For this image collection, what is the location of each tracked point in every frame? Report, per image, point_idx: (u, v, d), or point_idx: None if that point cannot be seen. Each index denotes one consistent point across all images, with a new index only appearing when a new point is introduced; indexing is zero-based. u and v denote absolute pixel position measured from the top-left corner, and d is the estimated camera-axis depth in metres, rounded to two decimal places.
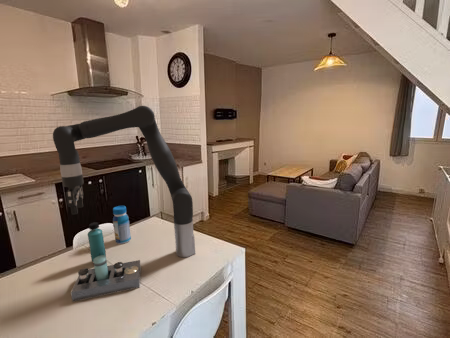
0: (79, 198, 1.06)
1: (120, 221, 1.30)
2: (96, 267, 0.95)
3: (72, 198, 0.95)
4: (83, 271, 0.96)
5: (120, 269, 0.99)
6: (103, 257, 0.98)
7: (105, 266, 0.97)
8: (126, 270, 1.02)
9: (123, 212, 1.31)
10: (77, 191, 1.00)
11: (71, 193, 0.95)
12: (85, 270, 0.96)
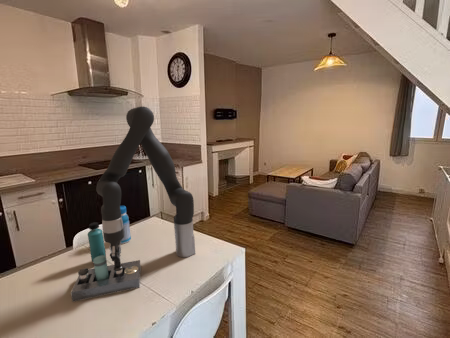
0: None
1: None
2: (96, 267, 0.95)
3: (116, 257, 0.95)
4: (83, 271, 0.96)
5: (120, 271, 1.00)
6: (103, 257, 0.98)
7: (105, 266, 0.97)
8: (126, 270, 1.02)
9: (123, 212, 1.31)
10: (118, 247, 0.97)
11: (115, 255, 0.93)
12: (85, 270, 0.96)
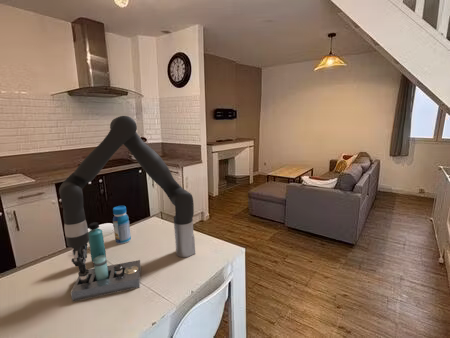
0: None
1: (120, 221, 1.30)
2: (96, 267, 0.95)
3: (79, 262, 0.91)
4: None
5: (120, 271, 1.00)
6: (103, 257, 0.98)
7: (105, 266, 0.97)
8: (126, 270, 1.02)
9: (123, 212, 1.31)
10: (82, 251, 0.93)
11: (78, 260, 0.89)
12: None
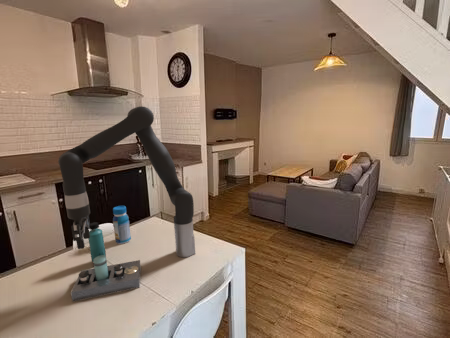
0: (85, 228, 0.97)
1: (120, 221, 1.30)
2: (96, 267, 0.95)
3: (78, 232, 0.87)
4: (83, 273, 0.96)
5: (120, 271, 1.00)
6: (103, 257, 0.98)
7: (105, 266, 0.97)
8: (126, 270, 1.02)
9: (123, 212, 1.31)
10: (83, 223, 0.91)
11: (77, 227, 0.86)
12: (85, 272, 0.96)
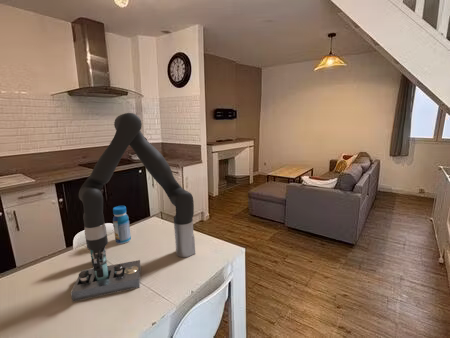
0: None
1: (120, 221, 1.30)
2: None
3: (98, 264, 0.92)
4: (83, 273, 0.96)
5: (120, 271, 1.00)
6: (103, 257, 0.98)
7: (105, 266, 0.97)
8: (126, 270, 1.02)
9: (123, 212, 1.31)
10: (102, 253, 0.95)
11: (97, 261, 0.91)
12: (85, 272, 0.96)
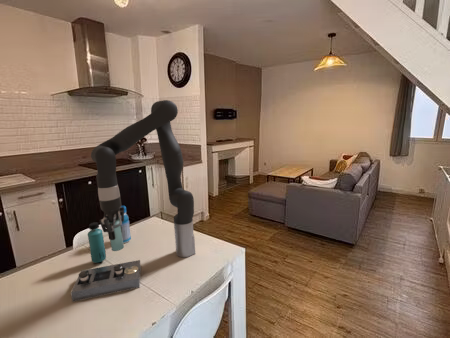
0: None
1: None
2: None
3: (106, 226, 0.90)
4: (83, 273, 0.96)
5: (120, 271, 1.00)
6: (116, 220, 0.96)
7: (117, 230, 0.95)
8: (126, 270, 1.02)
9: None
10: (113, 216, 0.93)
11: (104, 222, 0.89)
12: (85, 272, 0.96)
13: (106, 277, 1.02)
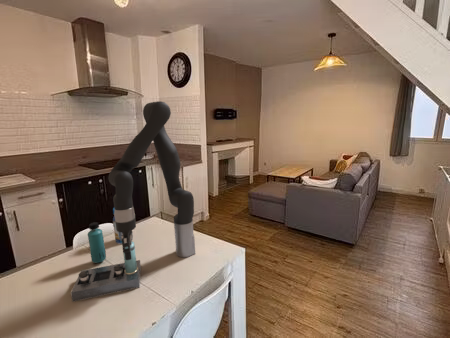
0: None
1: None
2: None
3: (128, 245, 0.93)
4: (83, 273, 0.96)
5: (120, 271, 1.00)
6: None
7: (133, 252, 1.00)
8: None
9: None
10: (130, 235, 0.97)
11: (127, 240, 0.92)
12: (85, 272, 0.96)
13: (106, 277, 1.02)
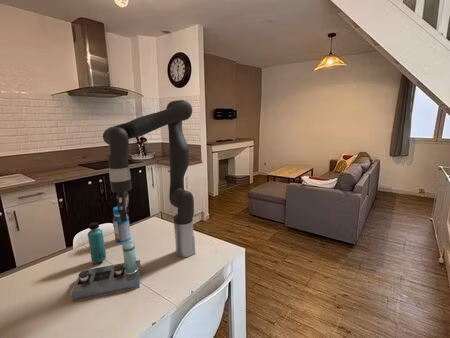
0: None
1: (120, 221, 1.30)
2: (125, 252, 0.98)
3: (123, 204, 0.89)
4: (83, 273, 0.96)
5: (120, 271, 1.00)
6: (131, 243, 1.00)
7: (133, 252, 1.00)
8: None
9: None
10: (126, 197, 0.94)
11: (122, 199, 0.89)
12: (85, 272, 0.96)
13: (106, 277, 1.02)
